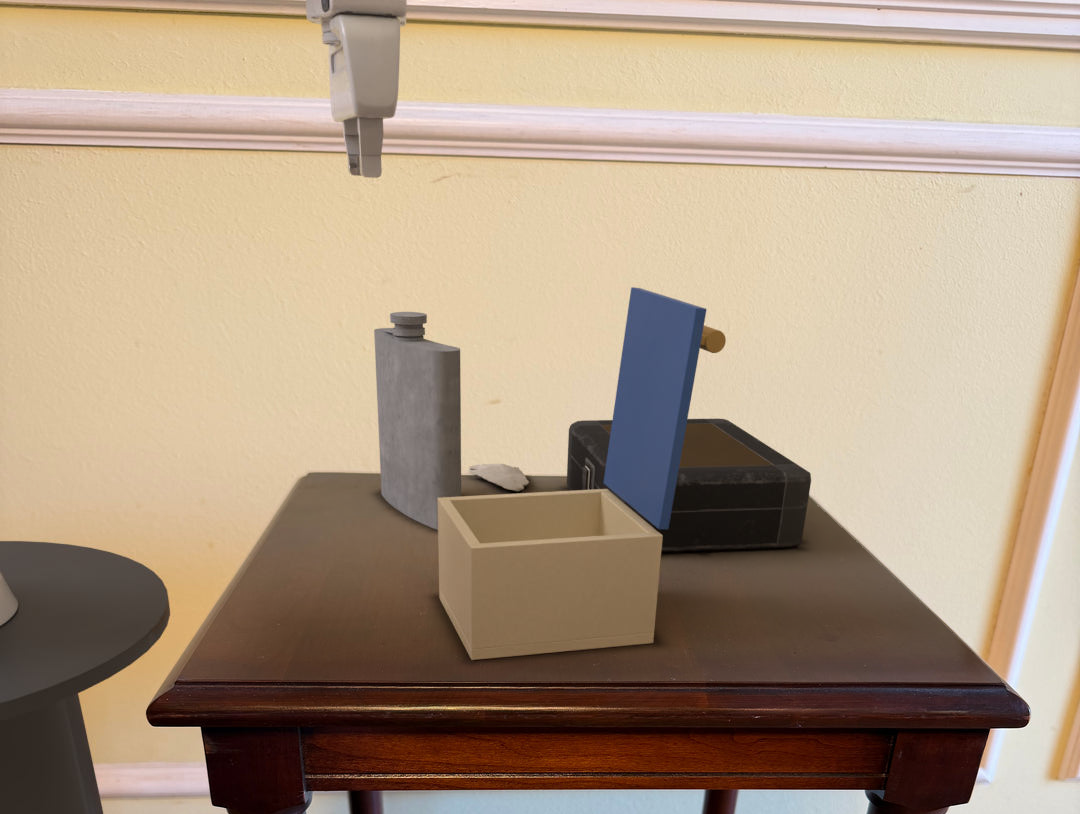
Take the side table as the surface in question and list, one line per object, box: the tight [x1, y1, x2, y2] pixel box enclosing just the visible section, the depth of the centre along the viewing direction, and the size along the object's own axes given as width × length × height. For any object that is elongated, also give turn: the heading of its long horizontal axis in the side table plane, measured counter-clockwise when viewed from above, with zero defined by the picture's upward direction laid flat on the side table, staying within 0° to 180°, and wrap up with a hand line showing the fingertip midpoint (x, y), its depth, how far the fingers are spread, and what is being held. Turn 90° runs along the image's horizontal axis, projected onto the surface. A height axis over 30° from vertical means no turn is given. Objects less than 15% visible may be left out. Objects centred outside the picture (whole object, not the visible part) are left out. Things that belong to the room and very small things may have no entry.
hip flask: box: [373, 311, 462, 531], centre depth 106 cm, size 16×4×20 cm, turn 31°
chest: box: [437, 489, 663, 661], centre depth 83 cm, size 15×13×9 cm
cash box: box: [566, 418, 812, 554], centre depth 109 cm, size 25×20×8 cm
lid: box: [604, 286, 727, 529], centre depth 79 cm, size 16×13×5 cm
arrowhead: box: [467, 463, 530, 493], centre depth 121 cm, size 7×2×10 cm
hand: (364, 176), depth 97 cm, fingers open, 8 cm apart
